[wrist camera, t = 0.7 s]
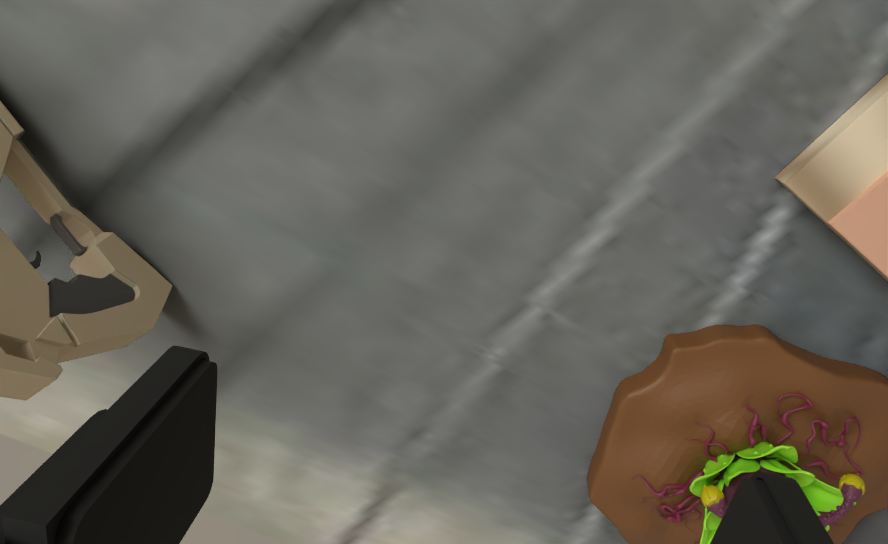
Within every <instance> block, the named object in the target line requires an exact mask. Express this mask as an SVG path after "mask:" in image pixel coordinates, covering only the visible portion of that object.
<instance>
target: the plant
mask: <svg viewBox="0 0 888 544" xmlns="http://www.w3.org/2000/svg"><path fill="white" fill-rule="evenodd" d="M758 471H762V472H766V473H771V474H776V475H780V476H785V477H790V478H793V479H795V480H796V481H797V483H798V484H799V485H800V487H801V489H802V490H803V492H804V494H805V495H806V497H807V499H808V500H809V502H810V504H811V505H812V507H813V509H814V511H815V512H816V514H817V516H818V517H819V519H820V521H821V522H822V524H823V526H824V527H825V529H826V531H827V533H828V534H829V536H830V538H831V539H832V541H833V543H834V544H842V543H843V542H844V541H845V540H846V538H847V537H848V536H849V534H850V533H851V532H852V530H853V529H854V527H855V526H856V524H857V523H858V522H859V521H860V520H861V519H862V518H864V517H865V516H867V515H869V514H871V513H873V512H876V511H879V510H882V509H885V508H888V378H886V377H885V376H884V375H882V374H881V373H879V372H877V371H874V370H872V369H869V368H866V367H863V366H859V365H856V364H851V363H846V362H841V361H836V360H831V359H828V358H824V357H821V356H818V355H816V354H813V353H811V352H808V351H806V350H804V349H801V348H799V347H796V346H794V345H792V344H790V343H787V342H785V341H783V340H781V339H779V338H777V337H776V336H774V335H773V334H772V333H771V332H770V331H769V330H768V329H767V328H765V327H763V326H760V325H748V326H734V325H714V326H709V327H706V328H703V329H700V330H698V331H694V332H689V333H681V334H669V335H667V337H666V338H665V340H664V343H663V347H662V350H661V352H660V354H659V356H658V357H657V359H656V360H655V361H654V362H653V363H652V364H651V365H650V366H649V367H647V368H646V369H645V370H643V371H641V372H640V373H638V374H635V375H633V376H630V377H628V378H626V379H624V380H622V381H621V382H620V384H619V385H618V387H617V388H616V390H615V393H614V396H613V399H612V403H611V406H610V408H609V411H608V414H607V416H606V419H605V423H604V426H603V429H602V432H601V435H600V439H599V442H598V445H597V447H596V450H595V452H594V454H593V457H592V460H591V463H590V466H589V470H588V474H587V485H588V491H589V497H590V501H591V502H592V503H593V504H594V505H595V506H596V507H597V508H598V509H599V510H600V511H601V512H602V513H603V514H604V515H605V516H606V517H607V518H608V519H609V520H610V521H611V522H612V523H613V524H614V525H615V526H616V527H617V528H618V530H619V532H620V533H621V535H622V536H623V538H624V539H625V540H626V541H627V542H629V543H630V544H710V543H711V541H712V538H713V536H714V534H715V532H716V530H717V528H718V526H719V524H720V522H721V520H722V518H723V516H724V514H725V512H726V510H727V508H728V506H729V504H730V502H731V500H732V498H733V496H734V493H735V491H736V489H737V487H738V485H739V483H740V482H741V480H742V479H743V478H745V477H749V478H751V476H752V475H753V474H754V473H755V472H758Z"/></svg>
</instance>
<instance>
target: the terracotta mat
mask: <svg viewBox="0 0 888 544" xmlns="http://www.w3.org/2000/svg"><path fill="white" fill-rule="evenodd" d="M828 223H829V224H830V225H831V226H832V227H833V228H834V229H835V230H836V231H838V232H839V233H840V234H841V235H842V236H843V237H844V238H845V239H846V240H847V241H848V242H849V243H851V244H852V245H853V246H854V247H855V248H856V249H857V250H858V251H859V252H860V253H861V254H862V255H864V256H865V257H866V258H867V259H868V260H869V261H870V262H871V263H872V264H873V265H874V266H875V267H876V268H878V269H879V270H880V271H881V272H882V273H883V274H884V275H885V276H886V277H887V278H888V171H887V172H886V173H885V174H884V175H882V176H881V177H880V178H879V179H878V180H877V181H875V182H874V183H873V184H872V185H871V186H870V187H868V188H867V189H866V190H865V191H864V192H863V193H861V194H860V195H859V196H858V197H857V198H856V199H854V200H853V201H852V202H851V203H850V204H849V205H847V206H846V207H845V208H844V209H843V210H842V211H840V212H839V213H838V214H837V215H836V216H835V217H833V218H832V219H831V220H830V221H829V222H828Z"/></svg>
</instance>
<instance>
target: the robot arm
mask: <svg viewBox="0 0 888 544" xmlns="http://www.w3.org/2000/svg"><path fill="white" fill-rule="evenodd" d="M216 392H217V365H216V363H214V362H210V361H209V357H208V354H207V353H206V352H203V351H198V350H193V349H189V348H184V347H180V346H172V347H171V348H169V349H168V350H167V351H166V352H165V353H164V354H163V355H162V356H161V357H160V358H159V359H158V360H157V361H156V362H155V363H154V364H153V365H152V366H151V367H150V368H149V369H148V370H147V371H146V372H145V373H144V374H143V375H142V376H141V377H140V378H139V379H138V380H137V381H136V382H135V383H134V384H133V385H132V386H131V387H130V388H129V389H128V390H127V391H126V392H125V393H124V394H123V395H122V396H121V397H120V398H119V399H118V400H117V401H116V402H115V403H114V404H113V405H112V406H111V407H110V408H109V409H108V410H106V409H105V410H101V411H98V412H97V413H96V414H94V415H93V416H92V417H91V418H90V419H89V420H88V421H87V422H85V423H84V424H83V425H82V426H81V427H80V428H79V429H78V430H77V431H76V432H75V433H74V434H73V435H72V436H71V437H70V438H69V439H68V440H67V441H66V442H65V443H64V444H63V445H62V446H61V447H60V448H59V449H58V450H57V451H56V452H55V453H54V454H53V455H52V456H51V457H50V458H49V459H48V460H47V461H46V462H45V463H43V465H41V466H40V468H38V469H37V470H36V471H35V472H34V473H33V474H32V475H31V476H30V477H29V478H28V479H27V480H26V481H25V482H24V483H23V484H22V485H21V486H20V487H19V488H18V489H17V490H16V491H15V492H14V493H13V494H12V495H11V496H10V497H9V498H8V499H7V500H6V501H4V503H3V504H2V505H0V544H179V543H180V541H181V540H182V538H183V537H184V535H185V534H186V532H187V530H188V529H189V527H190V525H191V524H192V522H193V521H194V519H195V517H196V516H197V514H198V513H199V511H200V509H201V508H202V506H203V505H204V503H205V501H206V500H207V498H208V496H209V493H210V490H211V487H212V483H213V474H214V447H215V419H216ZM710 544H834V543H833V541H832V539H831V538H830V536H829V534H828V533H827V531H826V529H825V527H824V526H823V524H822V522H821V521H820V519H819V517H818V516H817V514H816V512H815V511H814V509H813V507H812V505H811V504H810V502H809V500H808V499H807V497H806V495H805V494H804V492H803V490H802V489H801V487H800V485H799V484H798V483H797V481H796V480H795V479H793V478H790V477H785V476H780V475H776V474H771V473H766V472H762V471H758V472H755V473H754V474H753V475H752V476H751V478H749V477H745V478H743V479H742V480H741V482H740V483H739V485H738V487H737V489H736V491H735V493H734V496H733V498H732V500H731V502H730V504H729V506H728V508H727V510H726V512H725V514H724V516H723V518H722V520H721V522H720V524H719V526H718V528H717V530H716V532H715V534H714V536H713V538H712V541H711V543H710Z"/></svg>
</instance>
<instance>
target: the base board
mask: <svg viewBox="0 0 888 544" xmlns="http://www.w3.org/2000/svg"><path fill="white" fill-rule="evenodd" d="M887 171H888V74H887V75H886V76H885V77H883V78H882V79H881V80H880V81H879V82H878V83H877V84H876V85H875V86H874V87H873V88H871V89H870V90H869V91H868V92H867V93H866V94H865V95H864V96H863V97H862V98H861V99H860V100H858V101H857V102H856V103H855V104H854V105H853V106H852V107H851V108H850V109H849V110H848V111H846V112H845V113H844V114H843V115H842V116H841V117H840V118H839V119H838V120H837V121H836V122H834V123H833V124H832V125H831V126H830V127H829V128H828V129H827V130H826V131H825V132H824V133H823V134H821V135H820V136H819V137H818V138H817V139H816V140H815V141H814V142H813V143H812V144H811V145H809V146H808V147H807V148H806V149H805V150H804V151H803V152H802V153H801V154H800V155H799V156H798V157H796V158H795V159H794V160H793V161H792V162H791V163H790V164H789V165H788V166H787V167H786V168H784V169H783V170H782V171H781V172H780V173H779V174H778V175H777V176H776V177H775V178H776V179H777V180H778V181H779V182H780V183H781V184H782V185H783V186H784V187H786V188H787V189H788V190H789V191H790V192H791V193H792V194H793V195H794V196H795V197H796V198H797V199H799V200H800V201H801V202H802V203H803V204H804V205H805V206H806V207H807V208H808V209H809V210H810V211H812V212H813V213H814V214H815V215H816V216H817V217H818V218H819V219H820V220H821V221H822V222H823V223H825V224H826V225H827V226H828V227H829V228H830V229H831V230H832V231H833V232H834V233H835V234H836V235H838V236H839V237H840V238H841V239H842V240H843V241H844V242H845V243H846V244H847V245H848V246H850V247H851V248H852V249H853V250H854V251H855V252H856V253H857V254H858V255H859V256H860V257H861V258H863V259H864V260H865V261H866V262H867V263H868V264H869V265H870V266H871V267H872V268H873V269H874V270H876V271H877V272H878V273H879V274H880V275H881V276H882V277H883V278H884V279H885V280H886V281H887V282H888V278H887V277H886V276H885V275H884V274H883V273H882V272H881V271H880V270H879V269H878V268H876V267H875V266H874V265H873V264H872V263H871V262H870V261H869V260H868V259H867V258H866V257H865V256H864V255H862V254H861V253H860V252H859V251H858V250H857V249H856V248H855V247H854V246H853V245H852V244H851V243H849V242H848V241H847V240H846V239H845V238H844V237H843V236H842V235H841V234H840V233H839V232H838V231H836V230H835V229H834V228H833V227H832V226H831V225H830V224H829V223H828V222H829V221H830V220H831V219H832V218H833V217H835V216H836V215H837V214H838V213H839V212H840V211H842V210H843V209H844V208H845V207H846V206H847V205H849V204H850V203H851V202H852V201H853V200H854V199H856V198H857V197H858V196H859V195H860V194H861V193H863V192H864V191H865V190H866V189H867V188H868V187H870V186H871V185H872V184H873V183H874V182H875V181H877V180H878V179H879V178H880V177H881V176H882V175H884V174H885V173H886V172H887Z"/></svg>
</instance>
